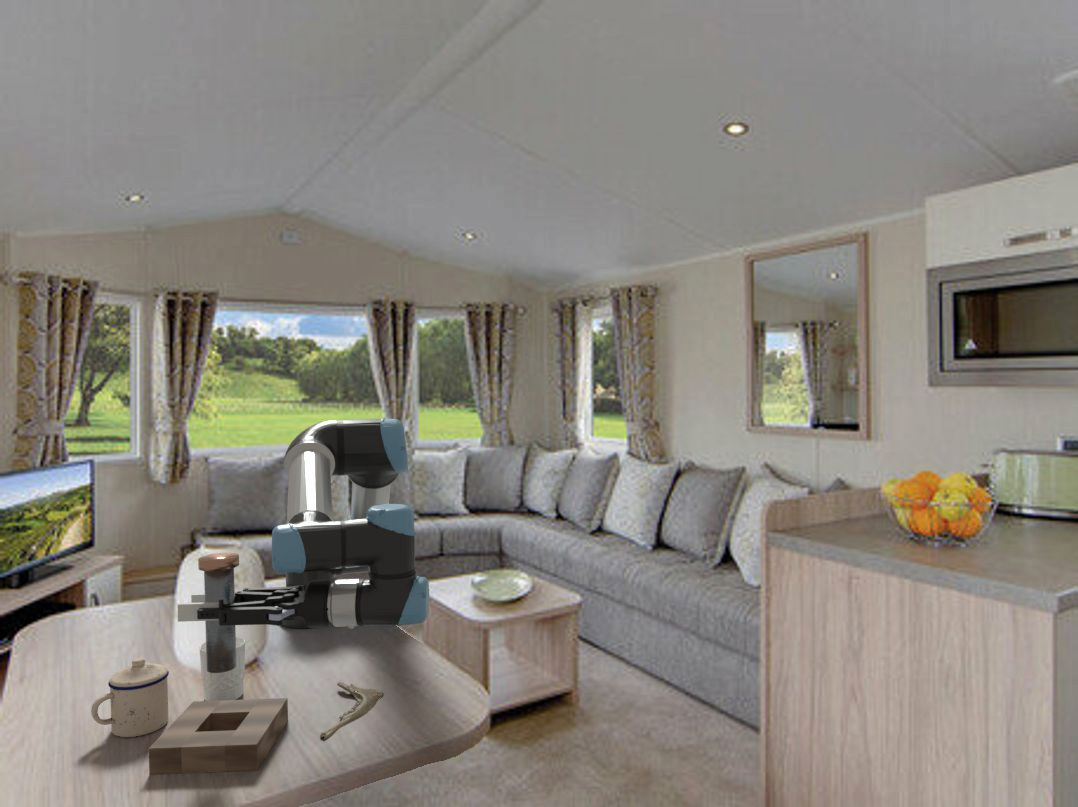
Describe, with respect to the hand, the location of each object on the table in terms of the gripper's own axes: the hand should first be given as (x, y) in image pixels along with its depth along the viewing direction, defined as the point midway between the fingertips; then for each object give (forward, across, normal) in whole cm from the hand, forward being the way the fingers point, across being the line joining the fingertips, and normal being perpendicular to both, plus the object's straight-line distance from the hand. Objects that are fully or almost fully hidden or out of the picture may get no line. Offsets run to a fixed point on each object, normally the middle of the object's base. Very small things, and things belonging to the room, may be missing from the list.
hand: (186, 607), depth 116 cm
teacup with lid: (+13, +7, -23) cm, 27 cm away
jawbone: (-21, +11, -24) cm, 34 cm away
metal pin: (-5, 0, -10) cm, 11 cm away
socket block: (-5, 0, -23) cm, 24 cm away
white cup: (+2, +19, -23) cm, 30 cm away
